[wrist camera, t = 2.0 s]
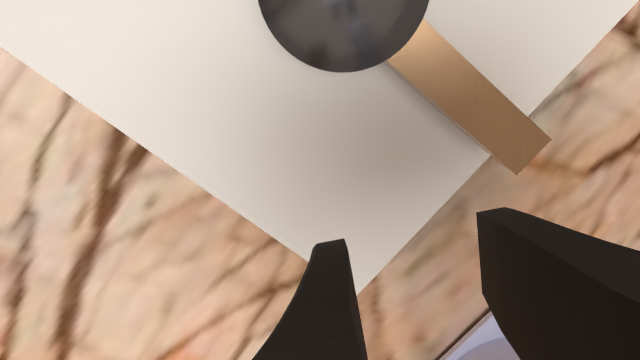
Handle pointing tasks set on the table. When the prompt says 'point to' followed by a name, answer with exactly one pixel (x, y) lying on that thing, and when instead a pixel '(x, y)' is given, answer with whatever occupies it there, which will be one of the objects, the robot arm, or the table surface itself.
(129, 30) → the post base
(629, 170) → the table surface
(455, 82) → the grey rounded handled piece
